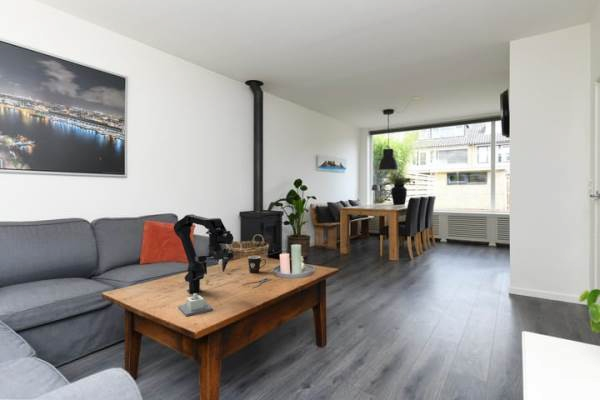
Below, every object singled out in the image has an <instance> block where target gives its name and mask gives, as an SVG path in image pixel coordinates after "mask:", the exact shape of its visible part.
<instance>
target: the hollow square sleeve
mask: <svg viewBox="0 0 600 400" xmlns="http://www.w3.org/2000/svg"><path fill="white" fill-rule="evenodd" d="M204 301H205V298H204V297H202V296H201V295H197V299H196V300H193V296H190V297H186V304H187V307H188V308H189V309H190V310H195V309H200V308H204Z"/></svg>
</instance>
